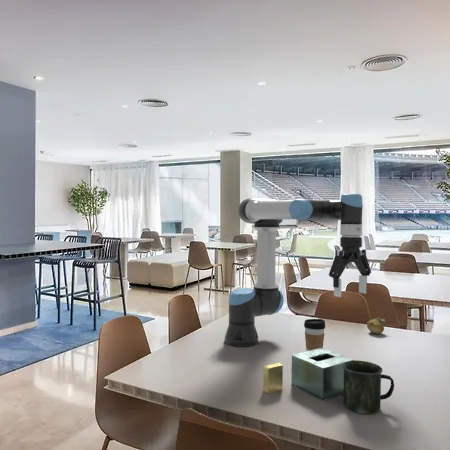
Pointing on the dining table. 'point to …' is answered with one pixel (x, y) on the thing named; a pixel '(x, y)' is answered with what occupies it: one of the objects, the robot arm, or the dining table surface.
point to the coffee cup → (314, 333)
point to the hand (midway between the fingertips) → (350, 294)
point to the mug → (364, 386)
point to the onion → (376, 325)
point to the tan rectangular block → (273, 378)
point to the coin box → (319, 373)
